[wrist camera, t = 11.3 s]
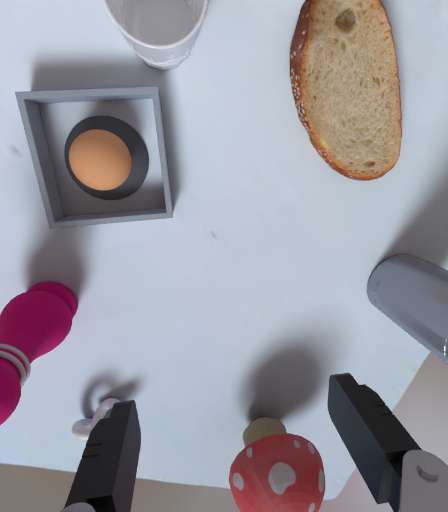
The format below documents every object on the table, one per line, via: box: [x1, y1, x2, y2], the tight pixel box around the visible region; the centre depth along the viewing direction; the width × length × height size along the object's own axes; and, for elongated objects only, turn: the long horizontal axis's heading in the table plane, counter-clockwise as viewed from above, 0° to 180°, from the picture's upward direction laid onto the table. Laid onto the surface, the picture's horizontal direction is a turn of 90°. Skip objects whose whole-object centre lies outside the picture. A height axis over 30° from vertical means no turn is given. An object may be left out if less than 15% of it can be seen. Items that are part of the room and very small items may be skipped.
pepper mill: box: [0, 282, 77, 425], centre depth 30 cm, size 7×7×20 cm
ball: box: [69, 129, 132, 190], centre depth 32 cm, size 6×6×6 cm
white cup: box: [103, 0, 208, 70], centre depth 27 cm, size 8×8×10 cm
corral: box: [15, 86, 173, 228], centre depth 33 cm, size 13×13×3 cm
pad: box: [65, 116, 149, 200], centre depth 35 cm, size 9×9×1 cm
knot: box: [72, 398, 120, 443], centre depth 44 cm, size 8×8×6 cm
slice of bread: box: [290, 0, 402, 180], centre depth 35 cm, size 18×18×4 cm
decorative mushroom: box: [229, 417, 325, 512], centre depth 44 cm, size 13×13×15 cm
